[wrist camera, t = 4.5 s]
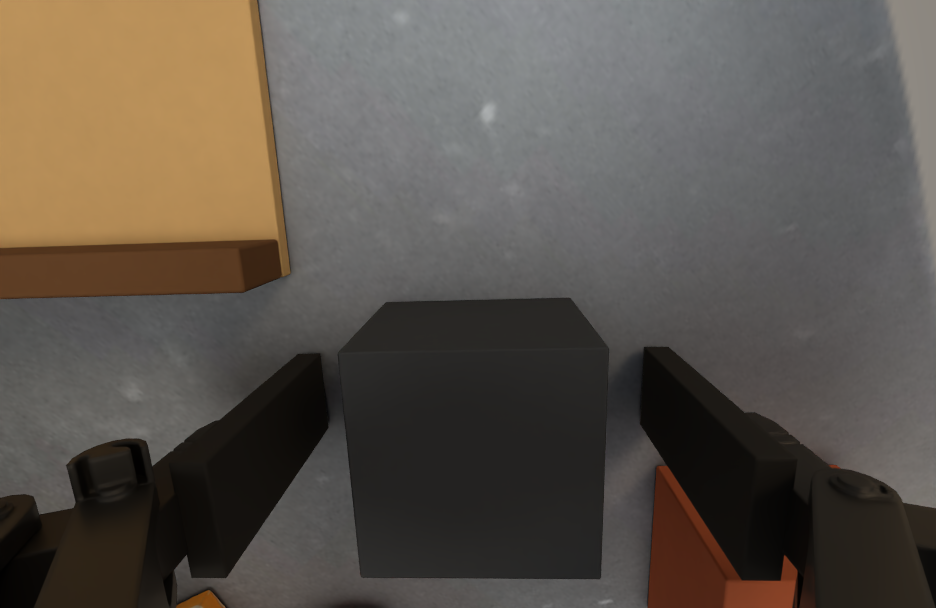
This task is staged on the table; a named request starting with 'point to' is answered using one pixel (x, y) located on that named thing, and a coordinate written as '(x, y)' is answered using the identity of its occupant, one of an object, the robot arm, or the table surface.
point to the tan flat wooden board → (136, 150)
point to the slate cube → (477, 439)
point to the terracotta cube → (701, 560)
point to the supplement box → (202, 601)
